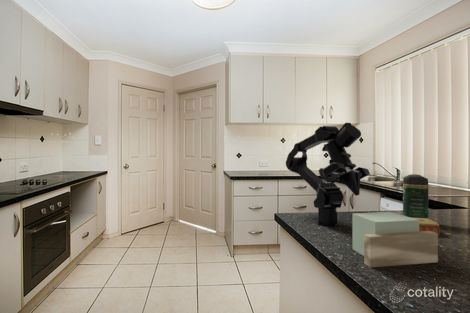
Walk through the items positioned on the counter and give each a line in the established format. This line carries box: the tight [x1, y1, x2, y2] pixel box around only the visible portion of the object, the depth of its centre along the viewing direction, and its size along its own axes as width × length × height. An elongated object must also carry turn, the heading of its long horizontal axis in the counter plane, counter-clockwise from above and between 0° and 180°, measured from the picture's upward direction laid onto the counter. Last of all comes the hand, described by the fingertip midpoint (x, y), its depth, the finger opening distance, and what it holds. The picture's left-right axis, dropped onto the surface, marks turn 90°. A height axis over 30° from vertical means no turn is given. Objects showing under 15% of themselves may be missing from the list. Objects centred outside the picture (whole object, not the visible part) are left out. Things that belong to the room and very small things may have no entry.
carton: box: [410, 217, 441, 237], centre depth 85 cm, size 8×16×4 cm, turn 73°
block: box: [352, 211, 419, 257], centre depth 65 cm, size 9×12×10 cm
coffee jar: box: [402, 173, 430, 219], centre depth 95 cm, size 10×8×19 cm
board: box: [363, 231, 439, 268], centre depth 59 cm, size 2×18×7 cm, turn 98°
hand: (357, 195), depth 80 cm, fingers closed
